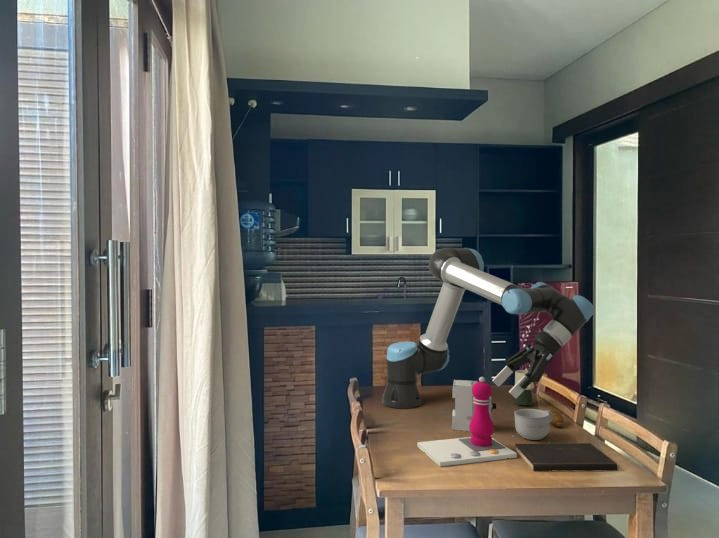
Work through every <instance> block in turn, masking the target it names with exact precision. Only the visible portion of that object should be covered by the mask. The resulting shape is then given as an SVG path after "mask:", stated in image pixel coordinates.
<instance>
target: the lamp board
mask: <svg viewBox="0 0 719 538" xmlns="http://www.w3.org/2000/svg"><path fill="white" fill-rule="evenodd" d="M417 447H418V448H419V449H420V450H421V451H422V452H423V453H424V452H425V453H426V454H425V453H424V454H425V455H426V456H428V458H430V459H431V460H432V461H433V462H434V463H435V464H436V465H438V466H439V467H440V468H441V467H448V466H455V465H464V464H473V463H474V464H475V463H482V462H488V461H489V462H490V461H499V460H500V461H501V460H507V458H509V459H516V458H518V456H517V455H518V454H517V453H518V452H516V451H513V450H512V449H511V448H510V447H507V446H506V445H504V444H502V443H501V442H499V441H498V440H496V439H495V438H493V437H492V444H491V445H490V446H476V445H474V444H472V443H471V436H466V437H457V438H448V439H438V440H437V439H436V440H427V441H420V442H419V441H418V442H417Z"/></svg>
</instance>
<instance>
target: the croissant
mask: <svg viewBox="0 0 719 538" xmlns="http://www.w3.org/2000/svg"><path fill="white" fill-rule="evenodd" d="M548 411H551V412H552V415H553V418H552V421H551V422H550V423H549V425H550V424H551V425H550V426H552V427H554V428H557V429H562V427H563V425H564V418H563V415H562V413H561V412H560V411H558V410H557V409H556V410H555V409H553V408H552V409H549V410H548Z"/></svg>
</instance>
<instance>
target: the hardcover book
mask: <svg viewBox="0 0 719 538" xmlns="http://www.w3.org/2000/svg"><path fill="white" fill-rule="evenodd" d="M514 446H515V452H516V453H518V454H519V455H520V457H521V458H523V460H524V461H525V462H526V464H528V466H530V469H532V471H533V472H553V471H552V470H607V471H612V472H613V471H618V469H619V468H618V467H619V466H618V463H617V462H615V461H614V460H613V459H611V458H610V457H609V456H608V455H606V454H605V453H604V452H603V451H601V450H599V449H598V448H597V447H596V446H594V445H593V444H592V443H591V442H586V443H585V442H584V443H583V442H581V443H580V442H577V443H575V442H573V443H571V442H569V443H568V442H567V443H566V442H565V443H564V442H561V443H559V442H557V443H556V442H555V443H552V442H550V443H549V442H548V443H542V442H541V443H514ZM549 470H551V471H549Z"/></svg>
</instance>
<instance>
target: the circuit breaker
mask: <svg viewBox="0 0 719 538" xmlns="http://www.w3.org/2000/svg"><path fill="white" fill-rule="evenodd" d="M477 382H478V381H477V380H463V379H462V380H461V379H453V384H452V395H451V396H452V397H451V398H452V399H454V409H452V415H451V416H452V417H451V430H452V431H460V430H463V431H464V432H470V430H469V425H470V421H471V419H472V417H473V414H474V411H475V403H474V402H473V401H474V399H473V398H474V395H473V394H472V387H473V385H474V384H475V383H477ZM489 398H490V404H489V414H490V417H491V418H492V413H493V410H497V403H495V402H493V400H492V395H491V396H490V397H489ZM453 429H455V430H453ZM463 431H462V432H463Z"/></svg>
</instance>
